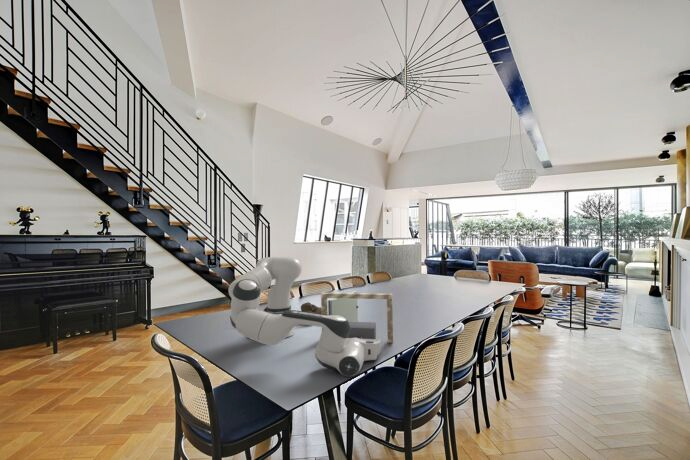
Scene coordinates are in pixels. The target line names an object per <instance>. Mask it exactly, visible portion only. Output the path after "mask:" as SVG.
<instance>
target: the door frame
mask: <svg viewBox="0 0 690 460" xmlns="http://www.w3.org/2000/svg"><path fill="white" fill-rule="evenodd" d="M320 295H321V296H320V299H321V300H320V305H321V306H320V307H321V314H325V315H328V299H334V298H354V299H357V300H359V299H360V300H361V299H363V300H364V299H365V300H369V299H370V300H386V314H387V315H386V323H387V325H386V328H387V344H394V320H393V319H394V318H393V317H394V316H393V315H394V314H393V311H394V310H393V293H369V292H368V293H364V292H363V293H362V292H359V293H358V292H357V293H351V292H320Z"/></svg>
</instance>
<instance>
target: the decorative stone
mask: <svg viewBox="0 0 690 460" xmlns="http://www.w3.org/2000/svg"><path fill="white" fill-rule="evenodd" d="M300 311H304V312H311V313H318V314H321V306H320V307H319V306H317V305H315V304H312V303H311V302H309V301H307V302H305V303H303V304H301V305H300Z"/></svg>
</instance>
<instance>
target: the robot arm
mask: <svg viewBox="0 0 690 460" xmlns="http://www.w3.org/2000/svg"><path fill="white" fill-rule="evenodd" d="M302 267H303V266H302V264H301V262H300V260H298V259H296V258H293V257H282V256H281V257H279V256H278V257H277V256H276V257H275V256H272V257H271V256H269V257H264V258H263V257H262V258H260V259H259V260H257V262H256V265H255V267H254V268H252V269H251V270H249V271H246V272H245V273H243V274H242V275H240V276H238V277H237V278H236V279H234V280H233V281H232V282H231V283H230V284H229V286H228V295H229V297H230V298H231V301H230V324H231V326H232V327H233V328H234V329H235V330H236V331H237V332H238V333H239V334H241V335H242V336H244V337H245V338H248V339H250V340H252V341H255V342H257V343H261V344H263V345H267V346H276V345H278V344H280V343H282V342H283V340H285V339H286V338H289V337H292V336H293V335H294V334H295V333H294V329H293V328H295V326H299V325H306V326H314V327H319V328H321V334H320V337H319V340H318V342H317V346H316V348H315V352H314V356H315V359H316V360H317V362H318V363H319V364H320V365H321V366H322V367H324V368H326V369H328V370H332V371H338V372H339V373H340V375H343V376H344V377H353V376H355V375H357V374H358V373H359V372H360V371H361V369H362V367H363V365H364V362H367V361H374V360H375V361H376V360H377V359H378V356H379V355H380V354H381V352H382V340H381V339H377V338H376V339H362V337H355V338H347V337H348V335H349V333H350V330H351V327H350V324H349V322H348V320H347V319H346V318H345V317H342V316H338V315H325V314H318V313H311V312H304V311H301V310H293V309H292V305H291V291H292V287H293V284H294V282H295V280H297V279H298V278H299V277H300V275H301V273H302ZM274 280H275V281H274ZM272 281H274V285H273V287H272V286H271V284H272ZM270 286H271V288H270ZM268 288H269V290H268V292H267V306H266V307H264V309H263V310H260V298H261V297H260V296H261V293H262V292H264V291H265V290H267V289H268Z"/></svg>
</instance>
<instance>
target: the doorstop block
mask: <svg viewBox="0 0 690 460" xmlns="http://www.w3.org/2000/svg"><path fill="white" fill-rule="evenodd" d="M349 324H350V327H351V330H350V333H349V335H348V337H347V338H355V337H362V339H377V332H376V331H377V330H376V329H377V327H376V326H377V325H376V324H377V323H376V322H375V321H374V322H371V321H369V322H367V321H358V322H349Z"/></svg>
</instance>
